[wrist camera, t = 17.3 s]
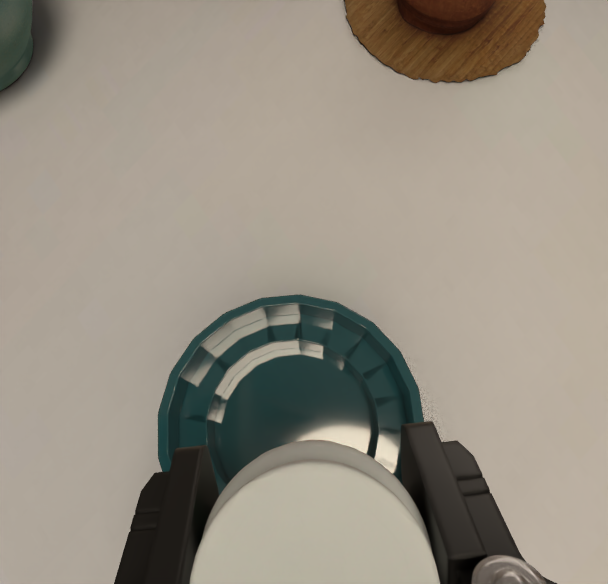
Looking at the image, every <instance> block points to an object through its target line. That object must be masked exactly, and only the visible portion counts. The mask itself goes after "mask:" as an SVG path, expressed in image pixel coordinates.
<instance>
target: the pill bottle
mask: <svg viewBox="0 0 608 584" xmlns="http://www.w3.org/2000/svg"><path fill="white" fill-rule="evenodd" d="M190 584H440V580H439V576H438V571H437V567H436V563H435V560H434V557H433V553H432V548H431V544H430V539H429V536H428V532H427V529H426V526H425V523H424V521H423V518H422V516H421V514H420V512H419V510H418V508H417V506H416V504H415V502H414V501H413V499H412V498H411V496H410V495H409V493H408V492H407V490H406V489H405V488H404V487H403V485H402V484H401V483H400V481H399V480H398V479H397V478H396V476H395V475H394V474H392V473H391V472H390V471H389V470H387V469H386V468H385V467H384V466H383V465H381V464H380V463H379V462H377V461H376V460H375V459H373V458H372V457H370V456H369V455H367V454H365V453H363V452H361V451H359V450H357V449H354V448H352V447H349V446H346V445H342V444H338V443H335V442H332V441H326V440H306V441H296V442H291V443H288V444H285V445H283V446H280V447H277V448H274V449H272V450H269V451H267V452H265V453H263V454H262V455H260V456H259V457H257V458H256V459H254V460H253V461H252V462H250V463H249V464H248V465H246V466H245V467H244V468H243V469H242V470H240V471H239V472H238V473H237V474H236V475H235V476H234V477H233V478H232V480H231V481H230V482H229V483H228V485H227V486H226V487H225V488H224V490H223V491H222V493H221V494H220V496H219V497H218V499H217V501H216V503H215V505H214V506H213V508H212V510H211V512H210V515H209V517H208V520H207V523H206V525H205V528H204V532H203V536H202V540H201V542H200V545H199V547H198V550H197V553H196V555H195V559H194V563H193V567H192V572H191V576H190Z"/></svg>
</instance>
